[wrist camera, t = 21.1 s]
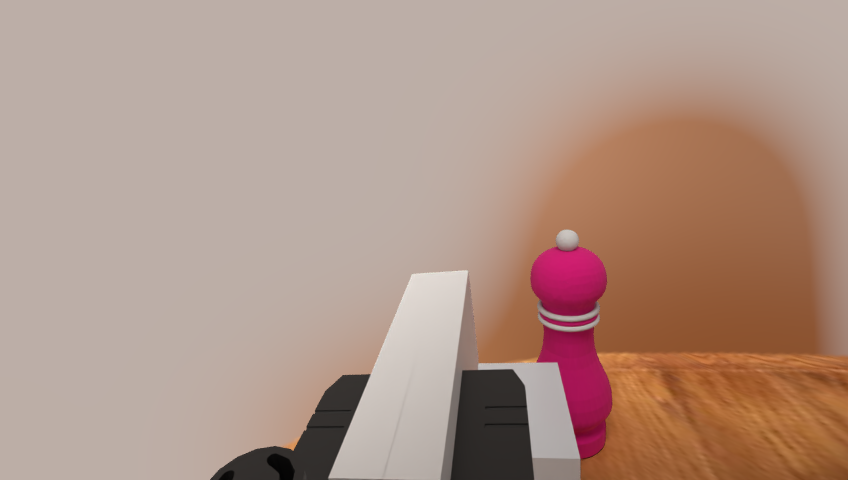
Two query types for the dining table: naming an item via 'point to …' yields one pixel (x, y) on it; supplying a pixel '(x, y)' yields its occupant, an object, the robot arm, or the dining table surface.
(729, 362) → the dining table surface
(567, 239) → the pepper mill
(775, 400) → the dining table surface
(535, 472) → the light grey cube
